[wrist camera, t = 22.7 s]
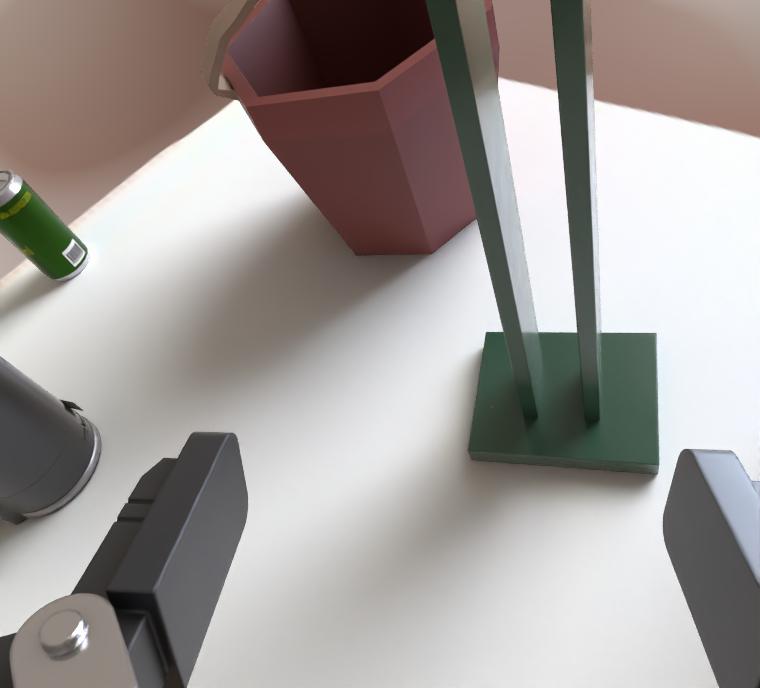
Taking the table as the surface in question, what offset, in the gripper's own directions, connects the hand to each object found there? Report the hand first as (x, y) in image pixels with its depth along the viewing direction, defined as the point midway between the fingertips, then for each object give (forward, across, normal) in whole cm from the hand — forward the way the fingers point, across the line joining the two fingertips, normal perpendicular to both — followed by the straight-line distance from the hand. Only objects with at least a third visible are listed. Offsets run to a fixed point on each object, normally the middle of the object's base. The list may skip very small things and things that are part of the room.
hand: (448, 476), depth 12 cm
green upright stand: (+29, -9, +19) cm, 35 cm away
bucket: (+52, +3, +11) cm, 53 cm away
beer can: (+55, +42, +20) cm, 72 cm away
